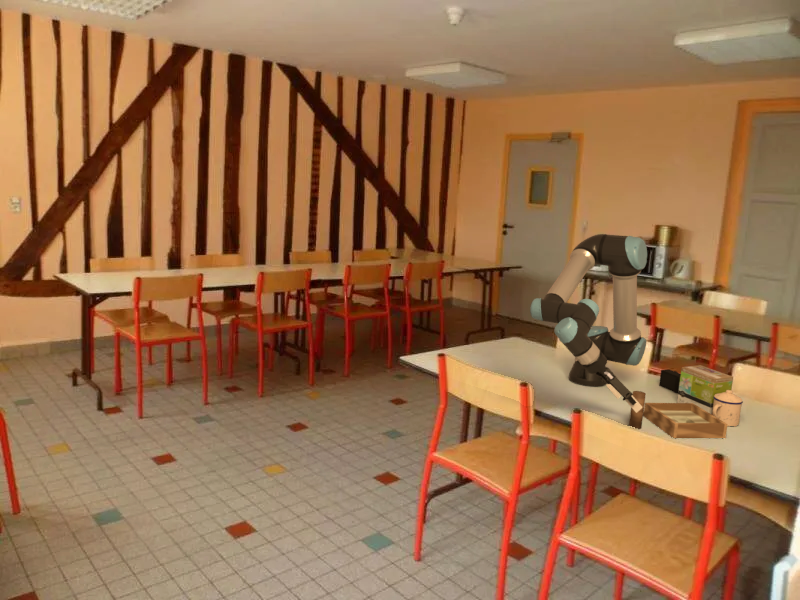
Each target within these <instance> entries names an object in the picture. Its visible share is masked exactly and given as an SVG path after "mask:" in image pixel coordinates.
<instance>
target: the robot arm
mask: <svg viewBox="0 0 800 600" xmlns="http://www.w3.org/2000/svg"><path fill="white" fill-rule="evenodd" d="M647 249H648V248H647V245H646V242H645V241H644V239H643V238H642V237H639V236H633V235H620V234H619V235H618V234H606V233H605V234H604V233H599V234H595V235H591V236H589V237H587V238H585V239H584V240H582V241H581V242H580V243H578V244H577V245H576V246H575V247H574V249H572V252H570V255H569V261H568V262H566V264H565V266H564V268H563V269H562V270H561V272H560V274H559V275H558V276H557V278H556V280H555V281H554V283H552V286H551V287H550V288H549V290H548V291H547V292H546V293H545V296H544V297H543V298H542V297H540V298H539V297H537V298H533V300H532V301H531V304H530V307H529V308H530V310H529V312H530V316H531V318H532V319H534V320H537V321H541V322H547V323H552V324H555V327H554V331H553V332H554V334H555V336H556V337H557V338H558V340H559V341H560V342H561V343H562V345H564V347H565V348H566V349H567V350H568V351H569V352H570V353H571V354H572V355H573V356H574V363H573V366H572V368H571V369H570V371H569V375H568V376H569V377H568V380H569V381H570V382H572V383H574V384H578V385H580V386H585V387H603V386H606V387H607V388H608V389H609V391H610V392H611V393H612V394H613V395H614V397H616V399H619V398H621V396H622V397H623V398H622V401H625V402H626V403H627V404H628V406H629V407H630V409H631V408H632V409H633V410H634V411H635V412H636V413H637V412H638V411H639V410H640V409H642V408H643V407H642V406H641V405H640V403H639V402H638V401H637V400H636V399H635V398H634V397H633V391H632V392H631V391H630V390H629V389H628V388H627V387H626V385H625V384H623V383H622V381H621V380H620V379H618V377H617V376H616V375H615V374H614V372H612V370H611V369H610V368H609V367H607V365H608V362H613V363H618V364H624V365H626V366H638V365H639V364H640V363H641V361H642V359H643V358H644V357H643V356H644V354H645V351H646V348H647V347H646V346H647V339H646V337H642V332H641V330H640V329H639V327H638V318H637V317H638V313H637V312H638V309H637V308H638V307H637V306H638V275H639V274H641V272H642V270H643V269H645V267H646V265H647V263H648V260H647V259H648V250H647ZM597 265H600V266H604V267H605V266H607V269H608V273H609V274H610V276H612V302H613V303H612V309H613V310H612V311H613V313H612V314H613V320H612V321H613V327H612V328H611V330H610V331H609V328H608V327H607V326H604V325H603V326H602V325H594V324H595V322H596V320H597V317H598V315H599V313H600V307H599V305H598V304H597V302H596V301H594V300H592V299H590V298H584V299H580V300H579V302H577V303H571V302H569V300H570V298H571V297H572V295H573V294H574V292H575V290H576V289H577V288H578V286H579V284H580V283H581V281H582V280H583V278H584V277H585V275H586V274H587V271H590V270H592V269H593V268H594V267H595V266H597Z"/></svg>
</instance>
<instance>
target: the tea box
mask: <svg viewBox="0 0 800 600" xmlns="http://www.w3.org/2000/svg"><path fill="white" fill-rule="evenodd" d="M680 374H681V376H680V384H679V391H678V394H677V400H676V401H677V402H676V403H693V404H695V405H697V406H698V407H700V408H702V409H703V410H705V411H707V412H708V413H710V414H711V415H712V410H713V403H714V395H715V394H718V393H723V392H726V390H731V391H732V389H733V388H732V387H733V383H734V382H733V381H734V376H732V375H730V374H727V373H724V372H721V371H718V370H715V369H712V368H710V367H707V366H704V365H702V364H697V365H690V366H682V367H681V370H680Z"/></svg>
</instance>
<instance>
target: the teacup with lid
mask: <svg viewBox="0 0 800 600" xmlns="http://www.w3.org/2000/svg"><path fill="white" fill-rule="evenodd" d="M743 403H744V401H743V399H742V398H741V397H739V396H737V395H736V394H735V393H733V390H732V389H731V390H726V392H723V393H718V394H715V395H714V403H713V410H712V415H713V416H715V417H716V418H718V419H720V420H721V421H723V422H725V423H726V424H728V425H727V427H730V426H734V427H737V425H738V426H739V423H740V419H741V412H742V405H743Z"/></svg>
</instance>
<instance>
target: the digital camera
mask: <svg viewBox="0 0 800 600" xmlns="http://www.w3.org/2000/svg"><path fill="white" fill-rule="evenodd" d="M680 376H681V372H680V373H679V371H676V370H671V369H661V370H660V377H659V384H658V386H659V387H661V388H663V389H666V390H668V391H671V392H673V393H675V394H677V395H678V391H679V384H680Z"/></svg>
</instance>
